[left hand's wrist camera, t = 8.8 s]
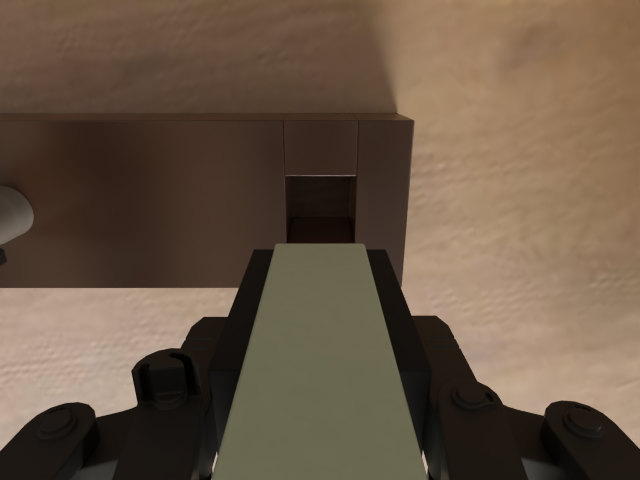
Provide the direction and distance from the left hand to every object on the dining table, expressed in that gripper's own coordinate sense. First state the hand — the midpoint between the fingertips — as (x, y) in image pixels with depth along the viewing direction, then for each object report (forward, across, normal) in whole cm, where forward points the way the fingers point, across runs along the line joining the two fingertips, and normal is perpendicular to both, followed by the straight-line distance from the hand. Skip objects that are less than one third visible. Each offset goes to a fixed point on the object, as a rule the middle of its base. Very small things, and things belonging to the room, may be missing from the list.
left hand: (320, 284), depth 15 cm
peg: (0, 0, 0) cm, 0 cm away
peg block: (+14, +8, 0) cm, 16 cm away
